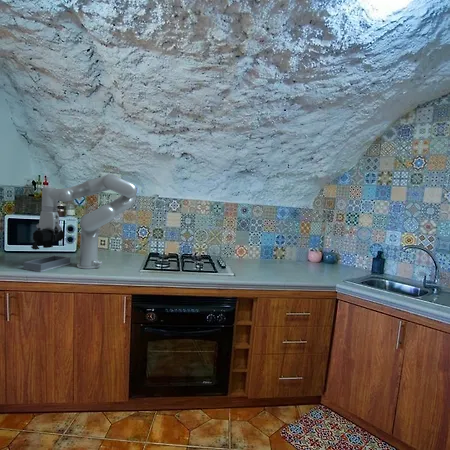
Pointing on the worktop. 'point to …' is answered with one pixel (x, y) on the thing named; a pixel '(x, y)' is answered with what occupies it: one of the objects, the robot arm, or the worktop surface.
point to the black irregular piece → (45, 238)
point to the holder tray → (46, 263)
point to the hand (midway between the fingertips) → (48, 240)
